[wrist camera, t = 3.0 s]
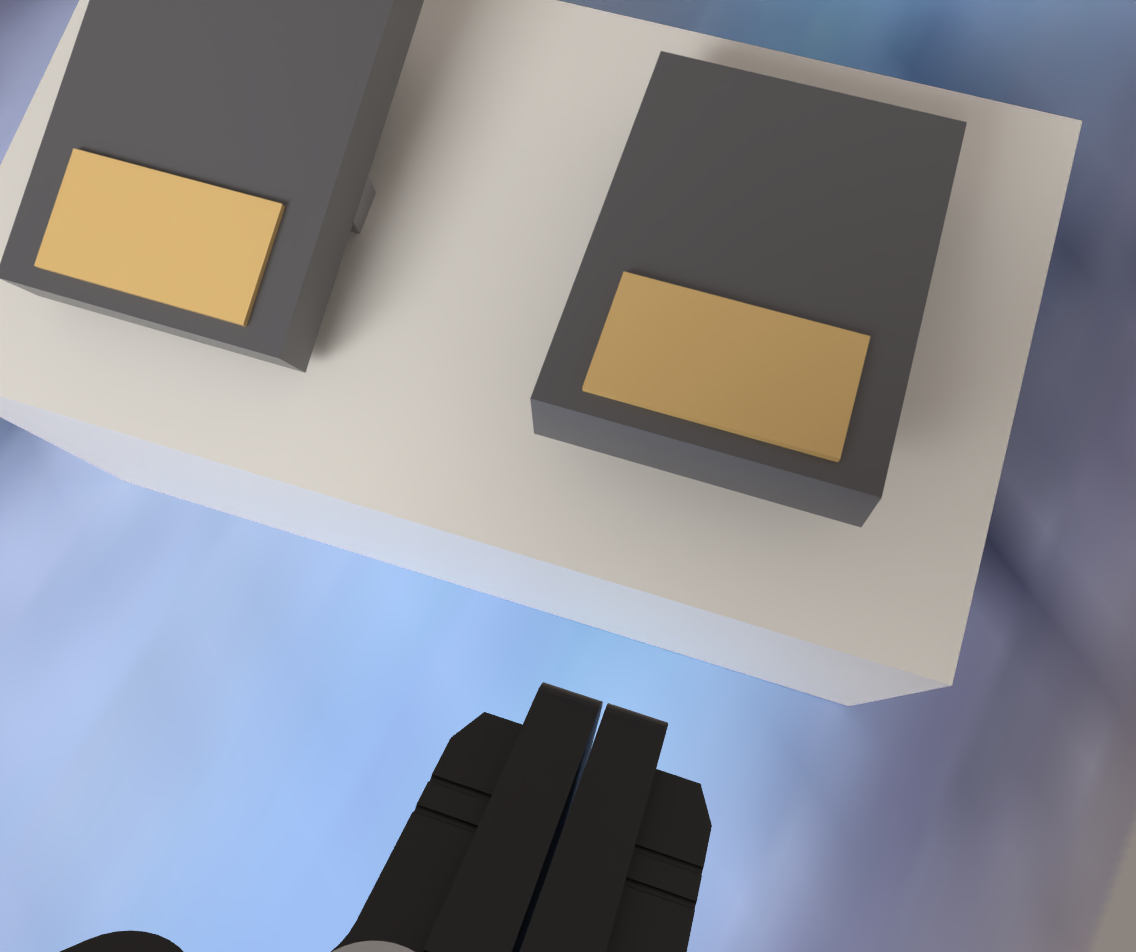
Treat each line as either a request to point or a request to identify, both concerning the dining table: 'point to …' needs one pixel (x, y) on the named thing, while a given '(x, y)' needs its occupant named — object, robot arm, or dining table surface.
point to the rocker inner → (210, 165)
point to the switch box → (517, 352)
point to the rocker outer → (754, 288)
